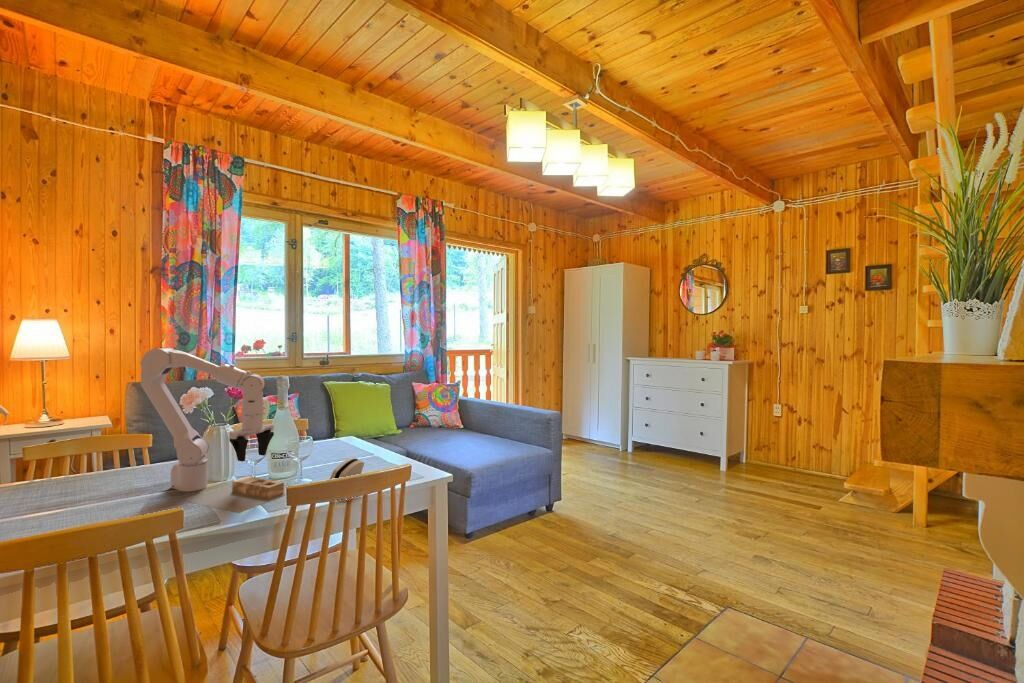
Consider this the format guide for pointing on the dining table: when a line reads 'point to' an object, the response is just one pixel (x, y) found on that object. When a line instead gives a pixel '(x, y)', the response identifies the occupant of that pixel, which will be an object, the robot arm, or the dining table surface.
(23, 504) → the dining table surface
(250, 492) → the tan block
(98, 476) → the dining table surface
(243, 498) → the board
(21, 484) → the dining table surface
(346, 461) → the tan half-round piece
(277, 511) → the dining table surface
